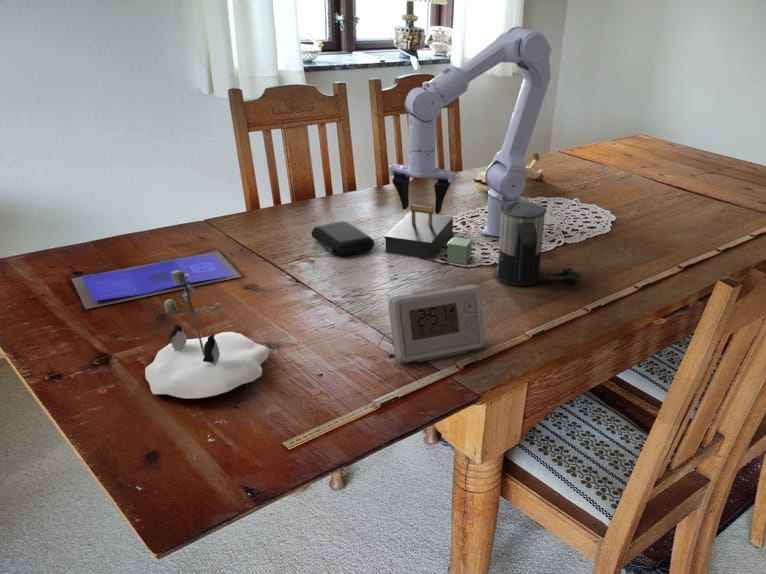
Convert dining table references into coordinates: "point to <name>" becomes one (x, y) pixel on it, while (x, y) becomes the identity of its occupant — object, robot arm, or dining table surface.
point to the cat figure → (529, 174)
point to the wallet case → (419, 245)
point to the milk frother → (524, 245)
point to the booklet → (151, 279)
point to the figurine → (202, 357)
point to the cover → (419, 226)
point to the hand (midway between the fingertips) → (421, 210)
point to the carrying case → (342, 238)
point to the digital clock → (436, 323)
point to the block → (459, 250)
